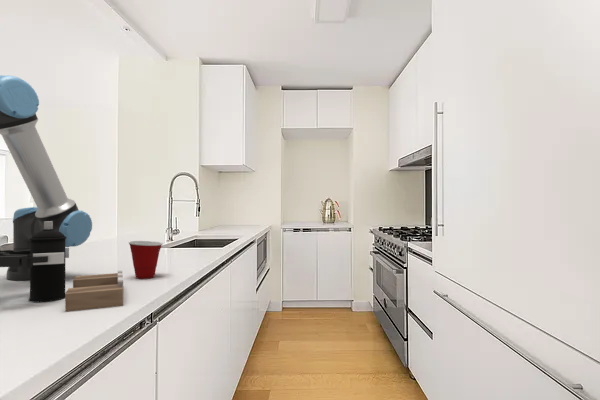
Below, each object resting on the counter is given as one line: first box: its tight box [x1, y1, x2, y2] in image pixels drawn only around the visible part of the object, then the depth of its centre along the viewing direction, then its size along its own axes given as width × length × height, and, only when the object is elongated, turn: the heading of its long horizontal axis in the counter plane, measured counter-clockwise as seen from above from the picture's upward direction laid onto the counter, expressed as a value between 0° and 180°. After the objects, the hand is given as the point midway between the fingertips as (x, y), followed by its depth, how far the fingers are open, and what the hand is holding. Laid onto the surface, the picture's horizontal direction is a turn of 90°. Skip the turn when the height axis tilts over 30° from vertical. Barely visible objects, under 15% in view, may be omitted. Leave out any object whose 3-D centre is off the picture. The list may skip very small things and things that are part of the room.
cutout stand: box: [64, 270, 124, 312], centre depth 103 cm, size 24×12×5 cm, turn 25°
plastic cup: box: [128, 240, 164, 280], centre depth 130 cm, size 11×11×12 cm
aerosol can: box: [28, 221, 67, 303], centre depth 102 cm, size 8×8×20 cm
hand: (66, 255), depth 103 cm, fingers open, 10 cm apart
